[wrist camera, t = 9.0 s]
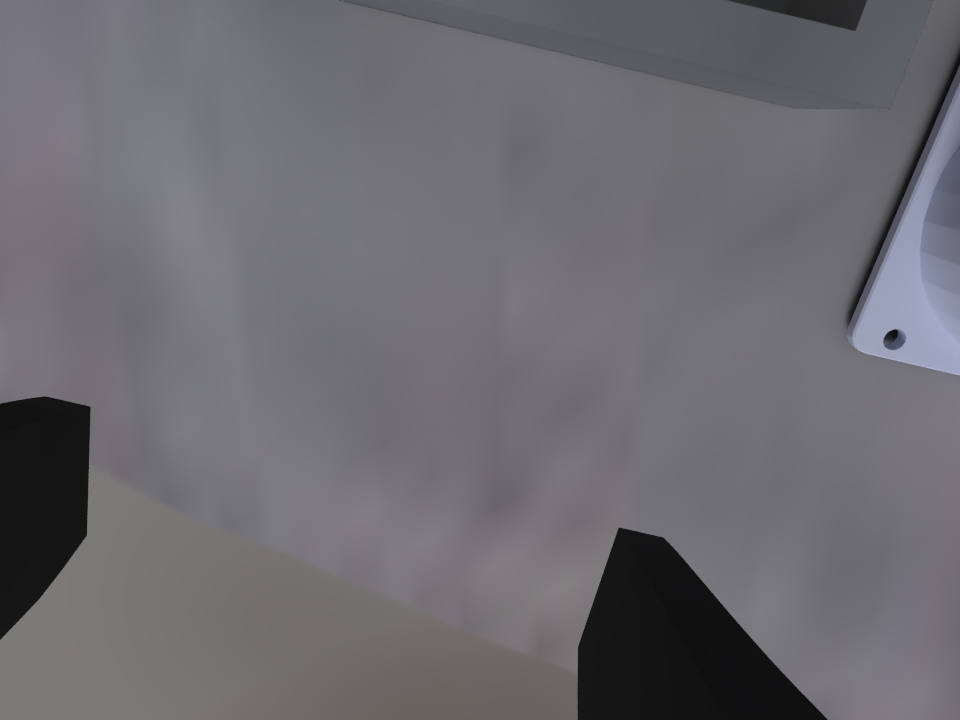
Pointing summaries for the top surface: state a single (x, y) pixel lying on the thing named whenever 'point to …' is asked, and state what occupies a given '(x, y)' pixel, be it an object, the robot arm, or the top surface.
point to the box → (714, 41)
